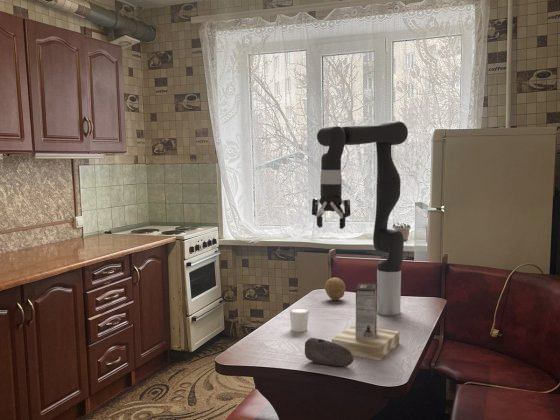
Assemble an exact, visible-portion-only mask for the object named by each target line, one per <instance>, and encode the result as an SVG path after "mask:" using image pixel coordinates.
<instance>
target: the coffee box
mask: <svg viewBox="0 0 560 420" xmlns="http://www.w3.org/2000/svg"><path fill="white" fill-rule="evenodd" d="M355 325H356V339H370V340H375V337H376V333H377V328H378V313H377V283H364V282H363V283H361V282H360V283H358V284H357V286H356V288H355Z"/></svg>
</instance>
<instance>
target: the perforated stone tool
mask: <svg viewBox="0 0 560 420" xmlns="http://www.w3.org/2000/svg"><path fill="white" fill-rule="evenodd" d="M304 356H305V358H306V359H308V361H312V362H314V363H317V364H321V365H327V366H334V367H348V366H350V365H352V364H353V362H354V357H353V355H352V354H351V352H350V351H349V350H348V349H346V348H345V347H343V346H341V345H339V344H336V343H333V342H332V341H330V340H325V339H322V338H317V337H316V338H315V337H310V338H308V339H307V340H306V341H305V342H304Z"/></svg>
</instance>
